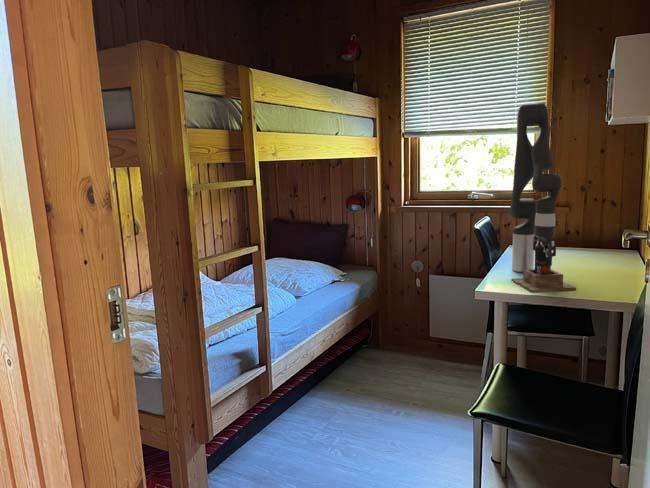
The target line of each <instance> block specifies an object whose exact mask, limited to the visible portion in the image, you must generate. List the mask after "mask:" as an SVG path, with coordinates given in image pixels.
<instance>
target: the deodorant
mask: <svg viewBox="0 0 650 488" xmlns="http://www.w3.org/2000/svg"><path fill="white" fill-rule="evenodd" d="M546 249H548V248H546ZM551 268H552V266H546V254H545V252H543V248H542V247H540V246H536V245H535V250H534V269H535V274H537V275H547V274H550V272H551V270H552V269H551Z"/></svg>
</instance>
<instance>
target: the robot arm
mask: <svg viewBox="0 0 650 488" xmlns="http://www.w3.org/2000/svg"><path fill="white" fill-rule="evenodd" d="M516 124H517V125H516V147H515V158H514V169H513V183H512V184H513V187H512V192H511V193H512V194H511V199H510V207H509V213H510V214H509V215H510V218H512V219H515V220H525V219H526V221H525V222H523V223H521V224H519V225H517V226H514V227H513V228H512V252H511V253H512V255H511V258H512V259H511V270H512V271H514V272H518V273H524V270H532V269H534V266H535V246H540V247H542V248H543V252H545V254H546V266H551V267H552V266H553V258H554V257H556V255H557V241H555V240H552V238H553V237H555V236H556V203H557V199H558V196H559V194H560V190H561V188H562V187H561V186H562V183H563V182H562V178H561V176H560V174H558V173H544V172H547V171H549V170H551V169H552V168H553V166H554V162H553V157H552V153H551V147H550V129H549V128H550V127H549V111H548V108H547V105H546V104H545V103H543V102H535V103H524V104H521V105H520V106H519V107H518V110H517V117H516ZM528 127H531V128H532V127H539V132H538V136H537V138H536V139H535V142H534V143H533V144H532V143H531V141H530V139H529V137H528V131H527V129H528ZM531 180H532V181H531ZM530 182H531V187H532V188H533V190H534V191H535V192H537V193H547V195H546V196H545V197H544V196H543V197H541V198H538V199H535V198H531V197H530V198H521V195H522V193H523V191H524V189H525V188H526V186H527V185H528V184H529V183H530ZM546 248H548V249H546Z"/></svg>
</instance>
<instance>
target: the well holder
mask: <svg viewBox="0 0 650 488" xmlns="http://www.w3.org/2000/svg"><path fill="white" fill-rule="evenodd" d="M522 274H523V277H520V278H511V282H512V281H513V282H512V283H514V282H515V283H514V284H515V285H518V286H519V285H520V286H519V287H521V288H522V289H525V290H526V289H527V291H528V292H530V293H540V292H541V293H543V292H542V291H545V292H561V291H562V290H566V291H577V287H576V286H574V285H572V284H569V283H568V282H565V281H564V274H562V273H560V272H558V271H555V270H553V269H551V272H550V274H547V275H537V274H535V268H533V269H532V270H524V272H523V273H522ZM562 292H563V291H562Z"/></svg>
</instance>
